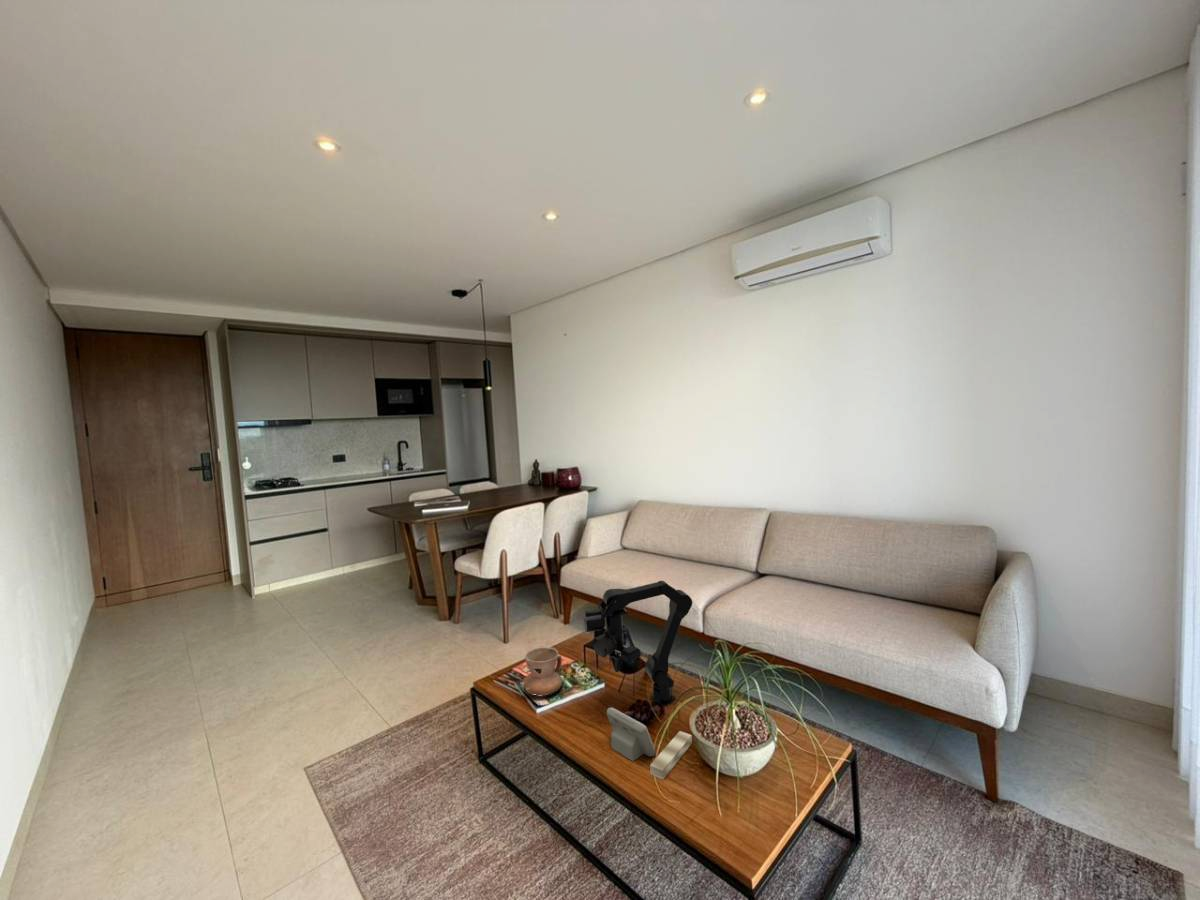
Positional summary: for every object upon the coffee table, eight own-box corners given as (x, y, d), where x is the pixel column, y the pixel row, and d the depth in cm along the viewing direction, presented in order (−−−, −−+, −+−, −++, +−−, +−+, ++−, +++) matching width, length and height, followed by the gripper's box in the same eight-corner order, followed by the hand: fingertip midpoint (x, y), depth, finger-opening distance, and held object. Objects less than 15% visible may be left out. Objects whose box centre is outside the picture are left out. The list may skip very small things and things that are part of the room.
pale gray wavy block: (680, 740, 152) (679, 730, 152) (692, 744, 150) (691, 735, 149) (650, 775, 137) (650, 765, 137) (663, 781, 135) (662, 770, 135)
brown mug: (536, 707, 174) (534, 668, 174) (513, 692, 185) (511, 655, 184) (574, 687, 187) (573, 650, 186) (551, 674, 197) (549, 639, 197)
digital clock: (658, 757, 144) (656, 722, 144) (633, 770, 140) (631, 733, 139) (627, 730, 158) (625, 697, 158) (603, 740, 153) (601, 707, 153)
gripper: (579, 627, 171) (581, 671, 171) (616, 643, 157) (619, 690, 158) (602, 618, 178) (605, 660, 179) (640, 631, 164) (643, 677, 165)
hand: (617, 671), depth 170 cm, fingers closed
